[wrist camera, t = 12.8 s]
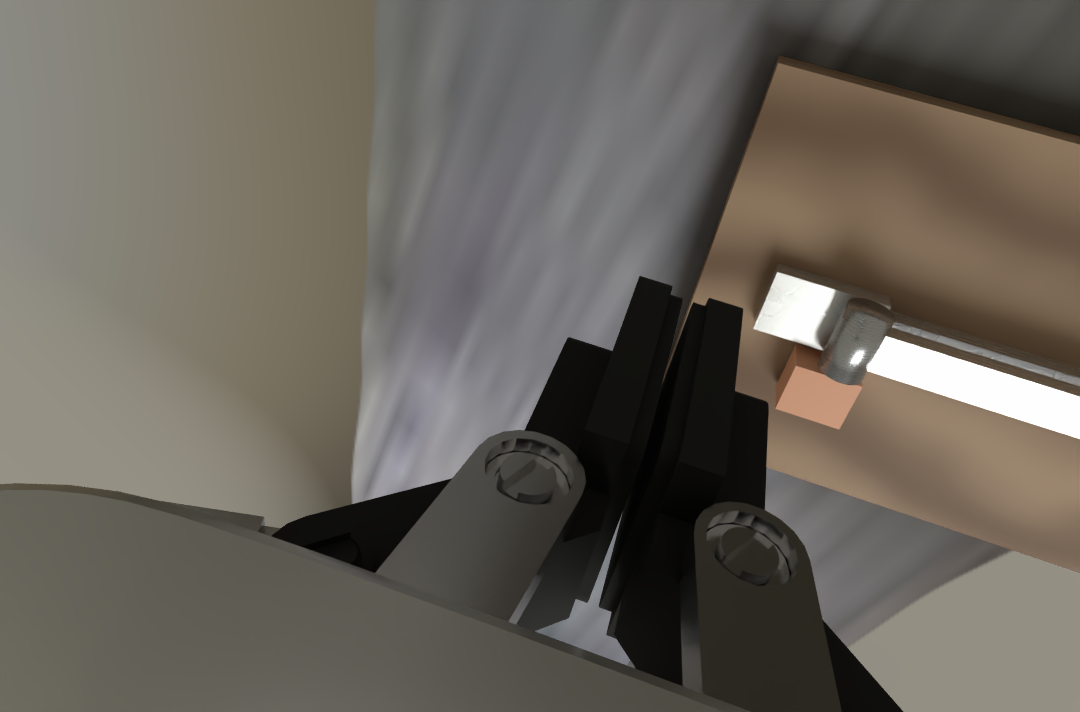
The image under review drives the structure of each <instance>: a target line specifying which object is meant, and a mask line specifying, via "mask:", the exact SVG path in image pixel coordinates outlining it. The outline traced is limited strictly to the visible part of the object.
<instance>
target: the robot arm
mask: <svg viewBox="0 0 1080 712" xmlns="http://www.w3.org/2000/svg"><path fill="white" fill-rule="evenodd" d="M671 290H672V286H670V285H667V284H664V283H661V282H658V281H654V280H651V279H648V278H645V277H642V276H640V277H639V279H638V282H637V285H636V288H635V290H634V293H633V296H632V299H631V302H630V304H629V307H628V310H627V313H626V315H625V318H624V321H623V324H622V327H621V329H620V332H619V335H618V338H617V340H616V343H615V346H614V349H613V351H610V350H607V349H604V348H601V347H598V346H595V345H592V344H589V343H586V342H583V341H580V340H576V339H573V338H570V337H569V338H568V339H567V340H566V342H565V344H564V347H563V349H562V351H561V353H560V355H559V357H558V360H557V362H556V364H555V366H554V368H553V370H552V372H551V375H550V377H549V379H548V381H547V383H546V385H545V388H544V390H543V392H542V394H541V396H540V398H539V401H538V403H537V405H536V407H535V409H534V411H533V413H532V416H531V418H530V420H529V422H528V424H527V426H526V429H525V431H523V430H515V431H506V432H502V433H499V434H496V435H494V436H491V437H489V438H488V439H487V440H485V441H484V442H483V443H482V444H481V445H479V446H478V448H477V449H476V450H475V451H474V453H473V454H472V455H471V456H470V457H469V459H468V460H467V461H466V462H465V464H464V465H463V466H462V467H461V468H460V470H459V471H458V472H457V473H456V475H455V476H454V477H453V478H452V479H448V480H444V481H441V482H437V483H433V484H429V485H425V486H421V487H417V488H413V489H410V490H406V491H402V492H398V493H394V494H390V495H386V496H382V497H379V498H375V499H371V500H367V501H363V502H359V503H355V504H351V505H348V506H344V507H340V508H336V509H332V510H329V511H325V512H320V513H317V514H313V515H309V516H306V517H303V518H300V519H298V520H295V521H293V522H290V523H288V524H286V525H285V526H283V527H282V528H275V527H268V526H265V523H264V517H262V516H256V515H249V514H243V513H236V512H229V511H223V510H216V509H210V508H203V507H197V506H190V505H184V504H176V503H170V502H164V501H158V500H153V499H149V498H145V497H140V496H136V495H132V494H127V493H123V492H119V491H111V490H103V489H95V488H88V487H81V486H73V485H54V484H52V485H51V484H22V483H14V484H0V712H903V711H902V710H901V708H900V707H899V706H898V705H897V704H896V703H895V702H894V701H893V699H892V698H891V697H890V696H889V695H888V694H887V693H886V691H885V690H884V689H883V688H882V687H881V686H880V685H879V684H878V682H877V681H876V680H875V679H874V678H873V677H872V675H871V674H870V673H869V672H868V671H867V670H866V669H865V668H864V666H863V665H862V664H861V663H860V662H859V661H858V660H857V658H856V657H855V656H854V655H853V654H852V653H851V652H850V650H849V649H848V648H847V647H846V646H845V645H844V644H843V642H842V641H841V640H840V639H839V638H838V637H837V636H836V634H835V633H834V632H833V631H832V630H831V629H830V628H829V626H828V625H827V624H826V623H825V622H824V621H823V620H822V615H821V610H820V606H819V601H818V596H817V591H816V587H815V582H814V577H813V572H812V567H811V563H810V559H809V557H808V554H807V551H806V549H805V546H804V545H803V543H802V542H801V540H800V539H799V538H798V536H797V535H796V534H795V532H794V531H793V530H792V529H791V528H789V527H788V526H787V525H786V524H785V523H784V522H783V521H782V520H780V519H779V518H777V517H776V516H774V515H772V514H770V513H769V512H767V511H765V489H766V464H767V440H768V416H769V406H768V403H767V401H764V400H761V399H758V398H755V397H752V396H749V395H746V394H743V393H740V392H737V391H735V385H736V376H737V366H738V357H739V347H740V338H741V329H742V319H743V308H741V307H738V306H734V305H731V304H728V303H725V302H722V301H718V300H715V299H712V298H709V299H708V300H707V303H706V305H705V306H704V305H701V304H697V303H694V302H693V303H692V306H691V308H690V311H689V313H688V316H687V319H686V321H685V324H684V327H683V329H682V332H681V335H680V337H679V340H678V343H677V345H676V348H675V351H674V353H673V356H672V359H671V361H670V364H669V367H668V369H667V372H666V375H665V378H664V374H665V370H666V366H667V362H668V358H669V354H670V350H671V346H672V341H673V337H674V333H675V329H676V325H677V321H678V317H679V313H680V309H681V305H682V300H683V299H682V298H678V297H675V296H672V295H670V294H671ZM663 378H664V380H663ZM662 382H663V383H662ZM622 512H623V513H622ZM621 514H622V517H621ZM620 517H621V521H620V525H619V529H618V533H617V536H616V540H615V544H614V548H613V552H612V556H611V560H610V564H609V568H608V571H607V575H606V579H605V583H604V587H603V591H602V595H601V599H600V603H599V607H600V608H603V609H606V610H608V611H611V612H612V613H611V617H610V622H609V626H608V630H607V634H606V635H608V636H611V637H613V638H616V639H617V640H618V642H619V643H620V645H621V646H622V648H623V649H624V651H625V653H626V654H627V656H628V657H629V659H630V661H629V663H628V665H627V666H626V665H624V664H621V663H618V662H616V661H613V660H610V659H608V658H605V657H602V656H599V655H597V654H594V653H591V652H589V651H586V650H583V649H581V648H578V647H575V646H572V645H570V644H567V643H564V642H562V641H559V640H556V639H553V638H551V637H548V636H545V635H543V634H540V633H537V630H539V629H541V628H544V627H547V626H549V625H552V624H554V623H557V622H559V621H562V620H566V619H567V618H569V616H570V613H571V610H572V607H573V605H574V602H575V599H578V600H581V601H584V602H586V603H587V602H588V600H589V598H590V595H591V593H592V590H593V587H594V585H595V582H596V580H597V577H598V574H599V572H600V569H601V567H602V564H603V561H604V559H605V556H606V554H607V551H608V548H609V546H610V543H611V540H612V538H613V535H614V533H615V530H616V527H617V525H618V522H619V520H620Z"/></svg>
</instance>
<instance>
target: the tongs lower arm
mask: <svg viewBox="0 0 1080 712" xmlns="http://www.w3.org/2000/svg"><path fill="white" fill-rule="evenodd" d="M851 298H864V299H868V300H872V301H874V302H877V303H879V304H881V305H883V306H885V307H886V308H888V309H889V310H890V308H891V303H890V299H889V297H888V296H885V295H882V294H878V293H875V292H872V291H868V290H865V289H862V288H859V287H855V286H852V285H849V284H845V283H842V282H839V281H836V280H832V279H829V278H826V277H822V276H819V275H816V274H812V273H809V272H806V271H803V270H799V269H796V268H793V267H789V266H786V265H783V264H779V263H777V266H776V268H775V271H774V273H773V275H772V278H771V280H770V282H769V285H768V287H767V289H766V292H765V294H764V297H763V299H762V301H761V304H760V306H759V308H758V311H757V313H756V315H755V318H754V326H753V329H756V330H759V331H762V332H765V333H768V334H771V335H775V336H778V337H781V338H784V339H787V340H790V341H794V342H797V343H800V344H803V345H806V346H809V347H813V348H816V349H819V350H822V351H824V349H825V347H826V345H827V343H828V341H829V339H830V337H831V335H832V333H833V331H834V329H835V327H836V325H837V323H838V320H839V318H840V316H841V314H842V312H843V310H844V308H845V306H846V304H847V302H848V300H849V299H851ZM891 312H892V313H893V314H894V315H895V317H896V320H895V322H894V324H893V326H892V328H895V329H898V330H901V331H904V332H907V333H911V334H914V335H917V336H920V337H923V338H927V339H930V340H933V341H936V342H939V343H943V344H946V345H949V346H952V347H956V348H959V349H962V350H965V351H968V352H972V353H975V354H978V355H981V356H984V357H988V358H991V359H994V360H997V361H1001V362H1004V363H1007V364H1010V365H1013V366H1017V367H1020V368H1023V369H1026V370H1029V371H1033V372H1036V373H1039V374H1042V375H1045V376H1049V377H1052V378H1055V379H1058V380H1062V381H1065V382H1068V383H1071V384H1074V385H1078V386H1080V368H1077V367H1074V366H1071V365H1067V364H1064V363H1061V362H1057V361H1054V360H1051V359H1048V358H1044V357H1041V356H1038V355H1035V354H1031V353H1028V352H1025V351H1021V350H1018V349H1015V348H1012V347H1008V346H1005V345H1002V344H999V343H995V342H992V341H989V340H985V339H982V338H979V337H976V336H972V335H969V334H966V333H963V332H959V331H956V330H953V329H949V328H946V327H943V326H940V325H936V324H933V323H930V322H926V321H923V320H920V319H917V318H913V317H910V316H907V315H904V314H900V313H897V312H894V311H891Z"/></svg>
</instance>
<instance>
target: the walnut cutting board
mask: <svg viewBox="0 0 1080 712" xmlns="http://www.w3.org/2000/svg"><path fill="white" fill-rule="evenodd" d="M777 263H779V264H783V265H786V266H789V267H793V268H796V269H799V270H803V271H806V272H809V273H812V274H816V275H819V276H822V277H826V278H829V279H832V280H836V281H839V282H842V283H845V284H849V285H852V286H855V287H859V288H862V289H865V290H868V291H872V292H875V293H878V294H882V295H885V296H888V297H889V299H890V303H891V308H890V311H894V312H897V313H900V314H904V315H907V316H910V317H913V318H917V319H920V320H923V321H926V322H930V323H933V324H936V325H940V326H943V327H946V328H949V329H953V330H956V331H959V332H963V333H966V334H969V335H972V336H976V337H979V338H982V339H985V340H989V341H992V342H995V343H999V344H1002V345H1005V346H1008V347H1012V348H1015V349H1018V350H1021V351H1025V352H1028V353H1031V354H1035V355H1038V356H1041V357H1044V358H1048V359H1051V360H1054V361H1057V362H1061V363H1064V364H1067V365H1071V366H1074V367H1077V368H1080V136H1077V135H1074V134H1070V133H1066V132H1062V131H1059V130H1055V129H1051V128H1048V127H1044V126H1040V125H1036V124H1033V123H1029V122H1025V121H1022V120H1018V119H1014V118H1010V117H1007V116H1003V115H999V114H996V113H992V112H988V111H985V110H981V109H977V108H973V107H970V106H966V105H962V104H959V103H955V102H951V101H947V100H944V99H940V98H936V97H933V96H929V95H925V94H921V93H918V92H914V91H910V90H907V89H903V88H899V87H895V86H892V85H888V84H884V83H881V82H877V81H873V80H869V79H866V78H862V77H858V76H855V75H851V74H847V73H843V72H840V71H836V70H832V69H829V68H825V67H821V66H818V65H814V64H810V63H806V62H803V61H799V60H795V59H792V58H788V57H784V56H780V55H779V56H778V59H777V61H776V64H775V67H774V70H773V73H772V75H771V78H770V81H769V84H768V86H767V89H766V92H765V95H764V97H763V100H762V103H761V106H760V109H759V111H758V114H757V117H756V120H755V122H754V125H753V128H752V131H751V133H750V136H749V139H748V142H747V145H746V147H745V150H744V153H743V156H742V158H741V161H740V164H739V167H738V170H737V172H736V175H735V178H734V181H733V183H732V186H731V189H730V192H729V194H728V197H727V200H726V203H725V206H724V208H723V211H722V214H721V217H720V219H719V222H718V225H717V228H716V230H715V233H714V236H713V239H712V242H711V244H710V247H709V250H708V253H707V255H706V258H705V261H704V264H703V266H702V269H701V272H700V275H699V278H698V280H697V283H696V286H695V289H694V291H693V294H692V297H691V300H690V303H689V305H688V308H687V311H686V314H685V316H684V319H683V322H682V325H681V327H680V330H679V333H678V336H677V339H676V341H675V344H674V347H673V350H672V352H671V355H670V358H669V361H668V363H667V366H666V370H665V374H664V378H665V375H666V372H667V369H668V367H669V364H670V361H671V359H672V356H673V353H674V351H675V348H676V345H677V343H678V340H679V337H680V335H681V332H682V329H683V327H684V324H685V321H686V319H687V316H688V313H689V311H690V308H691V306H692V303H693V302H694V303H697V304H701V305H704V306H705V305H706V303H707V300H708V299H709V298H712V299H715V300H718V301H722V302H725V303H728V304H731V305H734V306H738V307H741V308H743V319H742V329H741V338H740V347H739V357H738V366H737V376H736V385H735V391H737V392H740V393H743V394H746V395H749V396H752V397H755V398H758V399H761V400H764V401H767V403H768V406H769V416H768V440H767V464H766V467H767V468H770V469H773V470H776V471H779V472H782V473H785V474H788V475H791V476H794V477H797V478H800V479H803V480H806V481H809V482H812V483H815V484H818V485H821V486H824V487H827V488H830V489H833V490H836V491H839V492H842V493H845V494H848V495H851V496H854V497H857V498H859V499H862V500H865V501H868V502H871V503H874V504H877V505H880V506H883V507H886V508H889V509H892V510H895V511H898V512H901V513H904V514H907V515H910V516H913V517H916V518H919V519H922V520H925V521H928V522H931V523H934V524H937V525H940V526H943V527H946V528H948V529H951V530H954V531H957V532H960V533H963V534H966V535H969V536H972V537H975V538H978V539H981V540H984V541H987V542H990V543H993V544H996V545H999V546H1002V547H1005V548H1008V549H1011V550H1014V551H1017V552H1020V553H1023V554H1026V555H1029V556H1032V557H1035V558H1038V559H1041V560H1043V561H1047V562H1049V563H1052V564H1055V565H1058V566H1062V567H1064V568H1068V569H1070V570H1073V571H1076V572H1079V573H1080V439H1079V438H1076V437H1073V436H1069V435H1066V434H1063V433H1060V432H1057V431H1054V430H1051V429H1048V428H1044V427H1041V426H1038V425H1035V424H1032V423H1029V422H1026V421H1023V420H1019V419H1016V418H1013V417H1010V416H1007V415H1004V414H1001V413H998V412H994V411H991V410H988V409H985V408H982V407H979V406H976V405H973V404H969V403H966V402H963V401H960V400H957V399H954V398H951V397H948V396H944V395H941V394H938V393H935V392H932V391H929V390H926V389H923V388H919V387H916V386H913V385H910V384H907V383H904V382H901V381H898V380H894V379H891V378H888V377H885V376H882V375H879V374H876V373H873V372H869V371H867V373H866V375H865V377H864V379H863V381H862V386H863V387H862V389H861V391H860V393H859V394H858V396H857V398H856V400H855V402H854V404H853V405H852V407H851V409H850V411H849V413H848V414H847V416H846V418H845V420H844V422H843V424H842V425H841V427H840V429H836V428H833V427H830V426H827V425H824V424H821V423H817V422H814V421H811V420H808V419H805V418H802V417H799V416H796V415H793V414H790V413H787V412H784V411H781V410H778V409H775V404H776V385H777V383H778V381H779V378H780V376H781V374H782V372H783V370H784V368H785V366H786V364H787V361H788V359H789V357H790V355H791V353H792V351H793V349H794V346H795V344H798V345H801V346H804V347H807V348H810V349H813V350H817V351H820V352H823V351H822V350H819V349H816V348H813V347H809V346H806V345H803V344H800V343H797V342H794V341H790V340H787V339H784V338H781V337H778V336H775V335H771V334H768V333H765V332H762V331H759V330H756V329H753V326H754V318H755V315H756V313H757V311H758V308H759V306H760V304H761V301H762V299H763V297H764V294H765V292H766V289H767V287H768V285H769V282H770V280H771V278H772V275H773V273H774V271H775V268H776V266H777ZM664 378H663V380H664ZM662 383H663V382H662Z"/></svg>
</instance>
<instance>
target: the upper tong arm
mask: <svg viewBox="0 0 1080 712" xmlns="http://www.w3.org/2000/svg"><path fill="white" fill-rule="evenodd" d="M895 320H896V317H895V315H894V314H893V313H892V312H891V311H890V310H889V309H888V308H886V307H885V306H883V305H881V304H879V303H877V302H874V301H872V300H868V299H864V298H851V299H849V300H848V302H847V304H846V306H845V308H844V310H843V312H842V314H841V316H840V318H839V320H838V323H837V325H836V327H835V329H834V331H833V333H832V335H831V337H830V339H829V341H828V343H827V345H826V347H825V349H824V351H823V353H822V355H821V357H820V359H819V361H818V368H819V369H820V371H821V372H822V373H823V374H824V375H826V376H827V377H829V378H830V379H832V380H834V381H836V382H839V383H842V384H845V385H858V384H860V383H861V382H862V381H863V379H864V377H865V375H866V373H867V371H869V372H873V373H876V374H879V375H882V376H885V377H888V378H891V379H894V380H898V381H901V382H904V383H907V384H910V385H913V386H916V387H919V388H923V389H926V390H929V391H932V392H935V393H938V394H941V395H944V396H948V397H951V398H954V399H957V400H960V401H963V402H966V403H969V404H973V405H976V406H979V407H982V408H985V409H988V410H991V411H994V412H998V413H1001V414H1004V415H1007V416H1010V417H1013V418H1016V419H1019V420H1023V421H1026V422H1029V423H1032V424H1035V425H1038V426H1041V427H1044V428H1048V429H1051V430H1054V431H1057V432H1060V433H1063V434H1066V435H1069V436H1073V437H1076V438H1079V439H1080V386H1078V385H1074V384H1071V383H1068V382H1065V381H1062V380H1058V379H1055V378H1052V377H1049V376H1045V375H1042V374H1039V373H1036V372H1033V371H1029V370H1026V369H1023V368H1020V367H1017V366H1013V365H1010V364H1007V363H1004V362H1001V361H997V360H994V359H991V358H988V357H984V356H981V355H978V354H975V353H972V352H968V351H965V350H962V349H959V348H956V347H952V346H949V345H946V344H943V343H939V342H936V341H933V340H930V339H927V338H923V337H920V336H917V335H914V334H911V333H907V332H904V331H901V330H898V329H895V328H892V326H893V324H894V322H895Z"/></svg>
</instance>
